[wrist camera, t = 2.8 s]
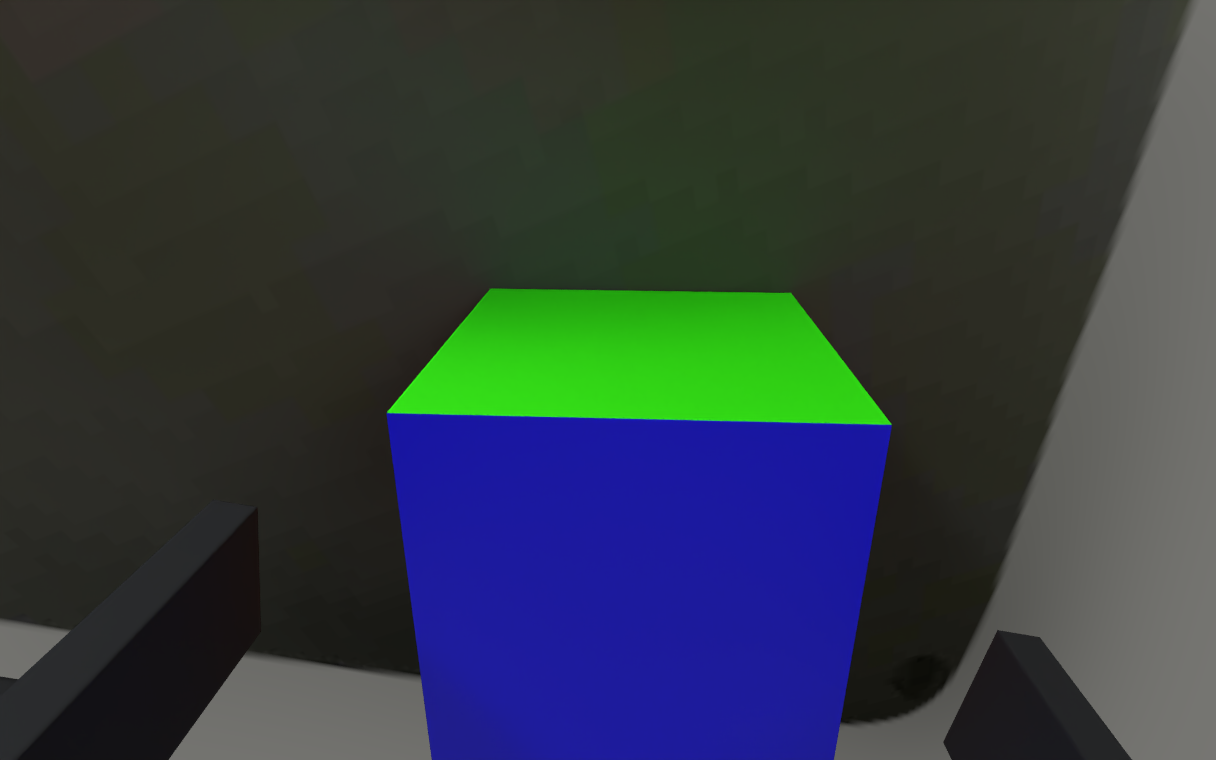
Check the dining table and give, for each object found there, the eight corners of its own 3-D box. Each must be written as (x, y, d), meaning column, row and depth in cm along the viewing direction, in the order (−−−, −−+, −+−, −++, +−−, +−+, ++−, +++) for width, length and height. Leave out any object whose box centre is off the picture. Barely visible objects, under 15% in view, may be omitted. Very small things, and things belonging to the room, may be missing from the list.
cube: (764, 546, 21) (829, 787, 14) (506, 538, 21) (433, 768, 14) (790, 293, 18) (891, 424, 11) (490, 288, 18) (386, 412, 11)
